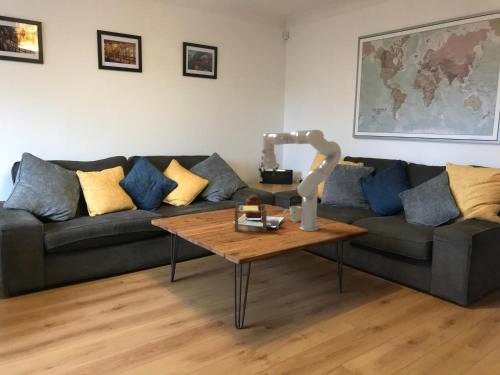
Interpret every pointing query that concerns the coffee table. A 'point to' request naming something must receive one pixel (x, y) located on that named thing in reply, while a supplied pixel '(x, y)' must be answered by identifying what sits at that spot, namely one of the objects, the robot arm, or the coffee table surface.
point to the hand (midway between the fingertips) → (268, 177)
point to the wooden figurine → (253, 201)
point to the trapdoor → (248, 208)
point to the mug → (294, 213)
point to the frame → (247, 228)
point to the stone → (275, 223)
